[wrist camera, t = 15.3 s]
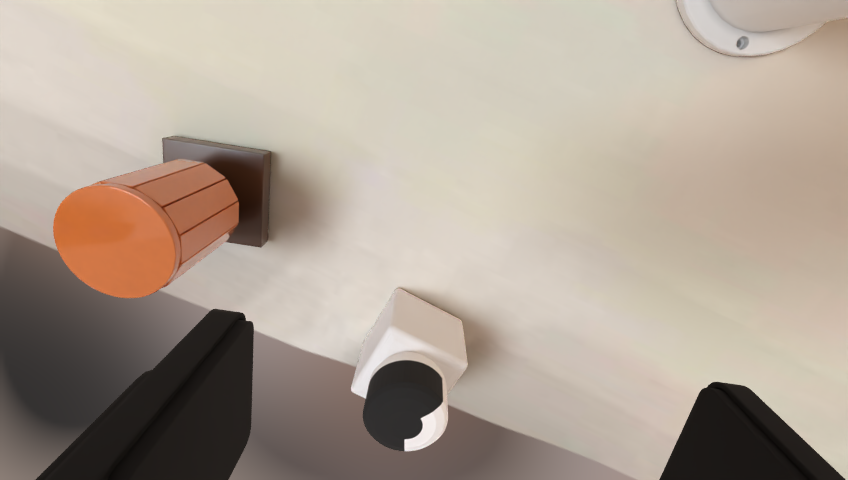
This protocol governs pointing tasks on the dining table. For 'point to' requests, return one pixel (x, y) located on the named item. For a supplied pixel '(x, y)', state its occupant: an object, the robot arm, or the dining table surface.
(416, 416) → the medicine bottle
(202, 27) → the dining table surface
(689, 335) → the dining table surface
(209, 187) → the cup
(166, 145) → the stand
